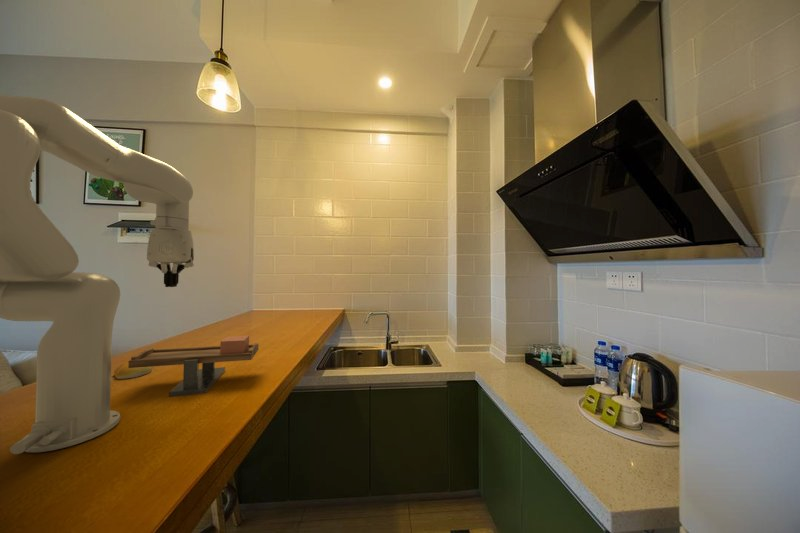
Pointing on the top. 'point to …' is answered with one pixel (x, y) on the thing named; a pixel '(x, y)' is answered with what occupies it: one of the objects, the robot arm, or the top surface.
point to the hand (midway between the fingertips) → (171, 286)
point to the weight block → (234, 344)
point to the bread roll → (130, 371)
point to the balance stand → (197, 378)
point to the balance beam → (187, 356)
